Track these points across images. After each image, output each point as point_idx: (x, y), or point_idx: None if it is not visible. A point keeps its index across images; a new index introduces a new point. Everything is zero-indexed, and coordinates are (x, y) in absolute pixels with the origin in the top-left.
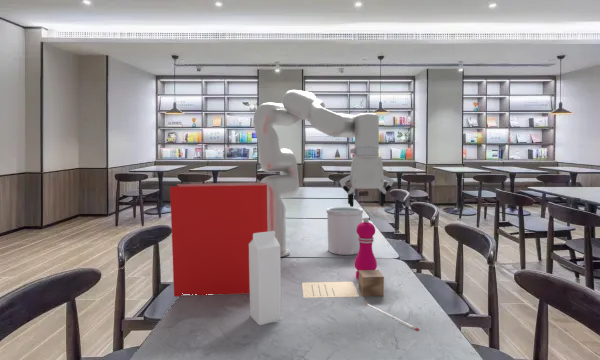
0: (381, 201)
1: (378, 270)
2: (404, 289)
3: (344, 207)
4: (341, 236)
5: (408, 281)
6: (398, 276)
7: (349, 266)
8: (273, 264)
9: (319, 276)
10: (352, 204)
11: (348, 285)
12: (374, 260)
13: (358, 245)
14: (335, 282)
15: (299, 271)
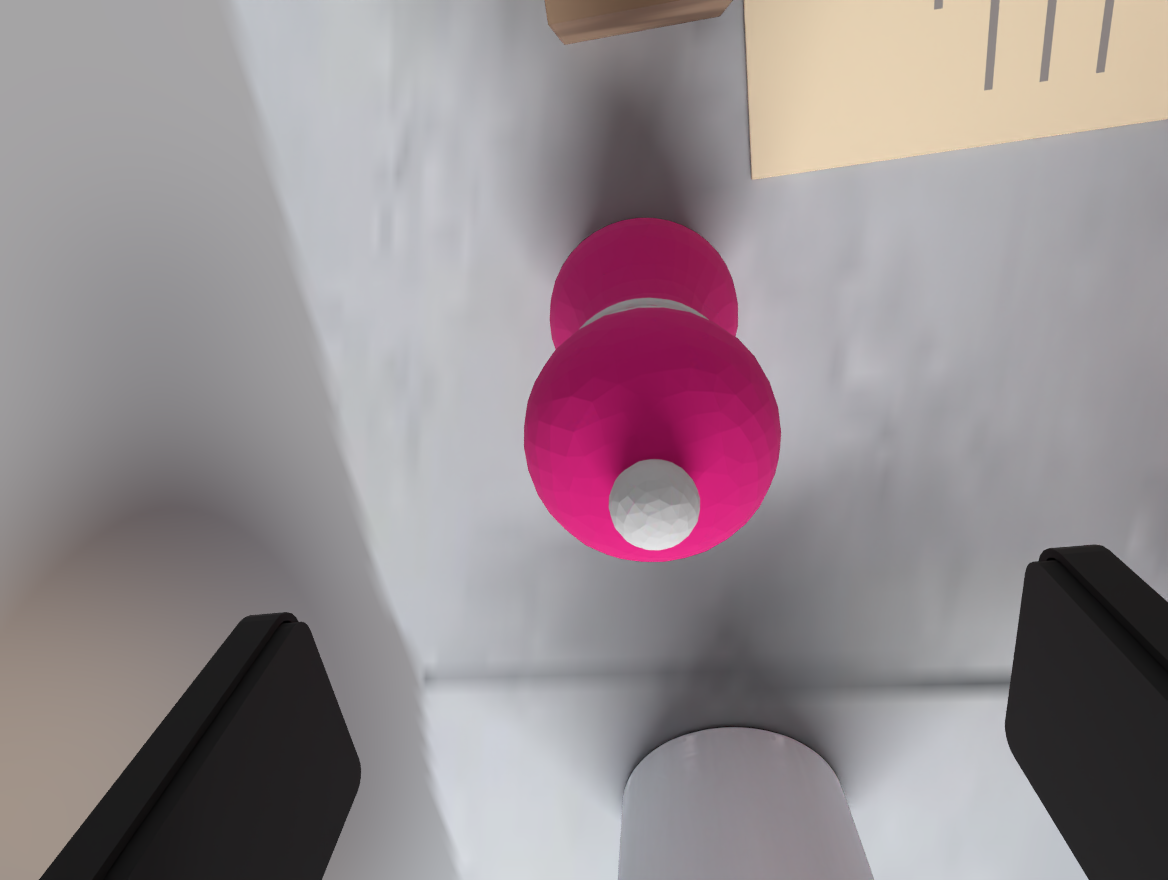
0: (241, 697)
1: (551, 5)
2: (371, 56)
3: None
4: (790, 845)
5: (339, 237)
6: (405, 336)
7: None
8: None
9: (992, 292)
10: (1096, 574)
11: (794, 83)
12: (568, 280)
13: (647, 799)
14: (890, 147)
15: (1133, 392)
